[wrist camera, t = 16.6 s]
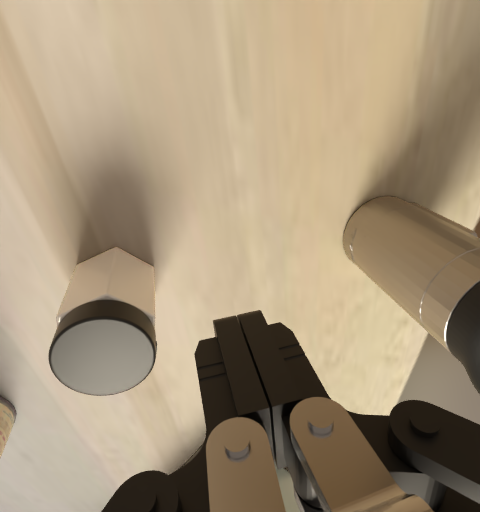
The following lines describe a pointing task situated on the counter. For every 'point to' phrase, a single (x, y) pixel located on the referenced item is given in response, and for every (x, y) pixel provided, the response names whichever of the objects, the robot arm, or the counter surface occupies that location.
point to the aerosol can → (6, 421)
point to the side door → (287, 490)
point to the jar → (106, 325)
